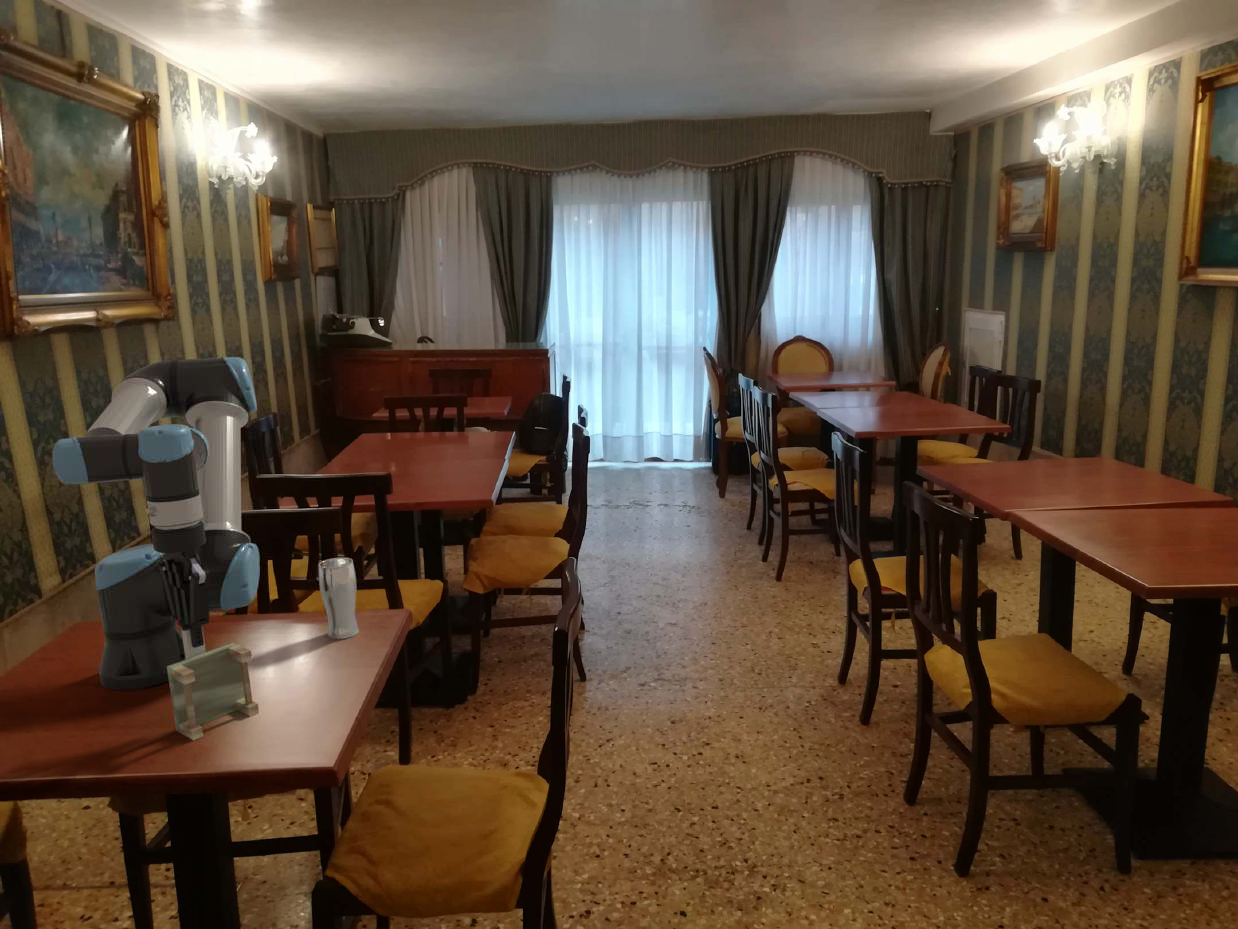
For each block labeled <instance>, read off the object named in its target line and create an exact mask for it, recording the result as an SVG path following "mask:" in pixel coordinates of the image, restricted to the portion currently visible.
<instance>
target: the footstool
mask: <svg viewBox="0 0 1238 929" xmlns="http://www.w3.org/2000/svg"><path fill="white" fill-rule="evenodd" d="M250 661H253V657H252V650H251V649H249V648H247V647H244V646H242V645H239V644H237V643H235V642H232V643H229V644H226V645H223V646H221V647H218V648H214V649H212V650H209V651H206V653H203V654H200V655H198V656H195V657H192V658H189V659H186V660H183V661H181V662H178V663H175V664H172V665H169V666H167V671H168V678H169V681H168V683H169V690H170V697H171V702H172V703H171V704H172V710H173V717H174V724H175V729H176V732H178V733H179V734H182V736H185V737H187V738H188V739H190V740H191V741H195V740H198V739H200V738H203V737H204V732H203V727H202V725H204V724H207V723H210V722H211V721H214V720H216V719H217V720H218V719H219V718H221V717H224V716H226V715H229V714H231V713H233V712H235V711H239V712H241V713H243V714H244V715H246V716H248V717H252V716H255V715H257V714H259V713H260V710H259V704H258V702H255V701H254V700H253V695H252V688H251V687H252V686H251V680H250V673H249V666H248V664H249V663H248V662H250Z"/></svg>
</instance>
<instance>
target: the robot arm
mask: <svg viewBox="0 0 1238 929" xmlns="http://www.w3.org/2000/svg"><path fill="white" fill-rule="evenodd" d="M257 411H258V406H257V399H256V393H255V390H254V384H253V381H252V376H251V373H250V369H249V366H248V363H247V362H246V360H245V358H242V357H239V356H231V357H230V356H229V357H228V356H227V357H226V356H221V357H213V358H211V357H209V358H192V359H169V360H167V359H166V360H161V361H157V362H153V363H151V364H148V365H146V366H143V367H142V368H139V369H137V370H136V371H134V372H131V373H130V374H128V375H127V376H125V378H123V379H122V380H121V381H120V382H119V383H118V384H117V385H116V386H115V388H114V389H113V391H112V393H111V402H109V404H108V405H107V406H106V408H105V409H104V410H103V412H102V413H100V415H99V416H98V418H97V419H96V420H95V421H94V423H93V424H92V425H91V426H90V427H89V428H88V430H87V431H86V433H85V434H84V435H83V436H81V437H80V436H79V437H77V436H73V437H69V438H62V439H59V440H57V441H56V442H55V444H54V446H53V448H52V449H53V451H52V465H53V469H54V473H55V476H56V477H57V478H58V480H59V481H60V482H61V483H63V484H65V485H88V484H97V483H98V484H99V483H108V482H109V483H110V482H119V481H129V480H142V479H143V482H144V483H143V484H144V489H145V496H146V502H147V508H145V514H147V515H148V518H149V522H150V523H149V524H150V525H151V526H153V527H151V528H152V529H151V532H150V533H151V539H152V543H147V544H146V543H145V544H141V545H140V544H139V545H137V546H132V547H129V548H125V549H122V550H119V551H117V552H114V553H111V554H109V555H107V556H106V557H104V558H102V559H100V560H99V561H98V562H97V564H96V565H95V567H94V576H95V587H94V589H95V591H96V593H97V600H98V605H99V606H98V607H99V611H100V616H101V624H102V629H103V636H104V645H103V650H102V653H101V654H102V655H101V659H100V665H99V668H98V670H99V671H98V674H99V679H100V684H101V685H102V686H103V687H104V688H107V689H110V690H116V691H117V690H119V691H129V690H138V689H144V688H148V687H153V686H157V685H160V684H164V683H167V682H169V678H168V671H167V666H169V665H172V664H175V663H178V662H181V661H183V660H186V659H189V658H192V657H195V656H198V655H200V654H203V653H206V652H207V650H206V644H205V636H204V628H203V626H204V625H207V624H209V623H210V612H217V611H218V612H219V611H230V610H231V609H237V608H243V607H244V608H245V607H246V606H249V605H250V604H251V603H252V602H253V601H254V599H255V597H256V595H257V591H258V588H259V581H260V574H261V573H260V570H261V569H260V568H261V566H260V552H259V548H258V546H257V544H256V543H252V542H251V538H250V536H249V535H248V534H247V533H246V532H244V531H243V530H242V481H241V480H242V468H241V466H242V465H241V464H242V461H241V460H242V458H241V456H242V455H241V453H242V452H241V450H242V448H241V447H242V446H241V439H242V438H241V428H243V427H244V426H246V424H247V423H248V422H249V414H253V413H255V412H257ZM165 418H167V419H168V418H185V419H186V422H187V423H188V425H190V426H191V427H189V426H188V425H186V424H182V423H181V424H179V423H177V424H176V423H175V424H174V423H173V424H161V425H154V426H150V425H152V424H153V423H156V422H157V421H159V420H160V419H165ZM192 427H193V428H192ZM177 623H178V625H179V626H180V629H181V631H180V629H179V628H178V626H177Z"/></svg>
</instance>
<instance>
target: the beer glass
mask: <svg viewBox="0 0 1238 929" xmlns="http://www.w3.org/2000/svg"><path fill="white" fill-rule="evenodd" d="M318 582H319V590H320V595H321V600H322V602H323V605H324V608H325V612H326V616H327V638H329V639H331V640H345V639H349V638H352V637H355V636H356V635H358V634H359V632H360V628H359V626H358V622H357V618H356V601H357V576H356V571H355V566H354V559H352V558H349V557H334V558H329V559H328V558H327V559H324V560H323V561H320V562H319V563H318Z"/></svg>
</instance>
